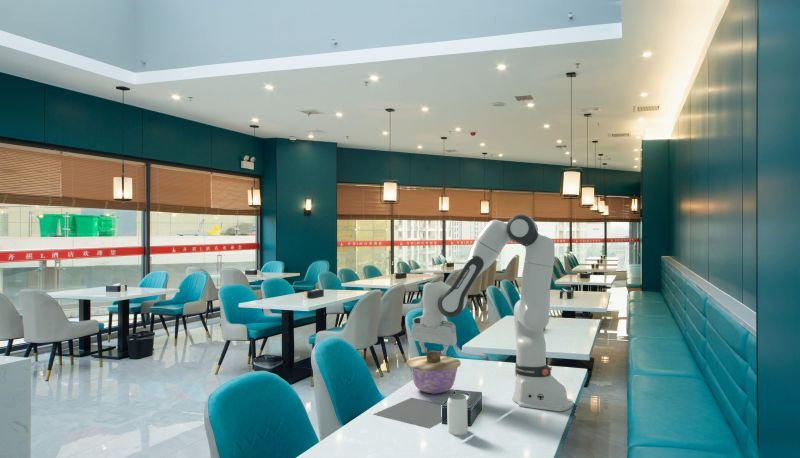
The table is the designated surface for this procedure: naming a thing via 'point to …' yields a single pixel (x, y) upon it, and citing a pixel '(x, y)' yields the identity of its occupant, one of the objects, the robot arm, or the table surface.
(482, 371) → the table surface
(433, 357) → the oak bowl cover
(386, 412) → the rubber mat
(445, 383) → the bowl of food
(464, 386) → the table surface
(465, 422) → the can
